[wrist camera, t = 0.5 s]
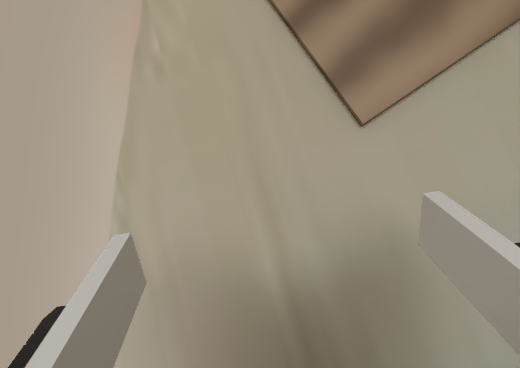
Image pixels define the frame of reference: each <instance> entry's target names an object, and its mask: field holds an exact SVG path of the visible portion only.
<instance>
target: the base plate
mask: <svg viewBox="0 0 520 368" xmlns="http://www.w3.org/2000/svg"><path fill="white" fill-rule="evenodd" d="M269 1H270V2H271V4H272V5H273V6H274V8H275V9H276V10H277V12H278V13H279V15H280V16H281V17H282V19H283V20H284V21H285V23H286V24H287V25H288V27H289V28H290V30H291V31H292V32H293V34H294V35H295V36H296V38H297V39H298V40H299V42H300V43H301V45H302V46H303V47H304V49H305V50H306V51H307V53H308V54H309V55H310V57H311V58H312V60H313V61H314V62H315V64H316V65H317V66H318V68H319V69H320V70H321V72H322V73H323V75H324V76H325V77H326V79H327V80H328V81H329V83H330V84H331V85H332V87H333V88H334V90H335V91H336V92H337V94H338V95H339V96H340V98H341V99H342V100H343V102H344V103H345V105H346V106H347V107H348V109H349V110H350V111H351V113H352V114H353V115H354V117H355V118H356V120H357V121H358V122H359V124H360V125H361V126H363V125H364V124H366V123H367V122H369V121H370V120H372V119H373V118H375V117H376V116H378V115H379V114H381V113H382V112H384V111H385V110H387V109H388V108H390V107H391V106H393V105H394V104H396V103H397V102H398V101H400V100H401V99H403V98H404V97H406V96H407V95H409V94H410V93H412V92H413V91H415V90H416V89H418V88H419V87H421V86H422V85H424V84H425V83H427V82H428V81H429V80H431V79H432V78H434V77H435V76H437V75H438V74H440V73H441V72H443V71H444V70H446V69H447V68H449V67H450V66H452V65H453V64H455V63H456V62H458V61H459V60H461V59H462V58H463V57H465V56H466V55H468V54H469V53H471V52H472V51H474V50H475V49H477V48H478V47H480V46H481V45H483V44H484V43H486V42H487V41H489V40H490V39H492V38H493V37H495V36H496V35H497V34H499V33H500V32H502V31H503V30H505V29H506V28H508V27H509V26H511V25H512V24H514V23H515V22H517V21H518V20H520V0H269Z"/></svg>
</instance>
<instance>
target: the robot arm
mask: <svg viewBox="0 0 520 368" xmlns="http://www.w3.org/2000/svg"><path fill="white" fill-rule="evenodd" d="M419 246H420V247H421V249H422V250H423V251H424V252H425V253H426V254H427V255H428V256H429V257H430V258H431V259H432V261H433V262H434V263H435V264H436V265H437V266H438V267H439V268H440V269H441V270H442V271H443V273H444V274H445V275H446V276H447V277H448V278H449V279H450V280H451V281H452V282H453V284H454V285H455V286H456V287H457V288H458V289H459V290H460V291H461V292H462V293H463V294H464V296H465V297H466V298H467V299H468V300H469V301H470V302H471V303H472V304H473V305H474V306H475V308H476V309H477V310H478V311H479V312H480V313H481V314H482V315H483V316H484V317H485V318H486V320H487V321H488V322H489V323H490V324H491V325H492V326H493V327H494V328H495V329H496V331H497V332H498V333H499V334H500V335H501V336H502V337H503V338H504V339H505V340H506V341H507V343H508V344H509V345H510V346H511V347H512V348H513V349H514V350H515V351H516V352H517V353H518V355H519V356H520V243H512V242H511V241H509V240H508V239H507V238H505V237H504V236H502V235H501V234H500V233H498V232H497V231H495V230H494V229H492V228H491V227H490V226H488V225H487V224H485V223H484V222H483V221H481V220H480V219H478V218H477V217H476V216H474V215H473V214H471V213H470V212H469V211H467V210H466V209H464V208H463V207H461V206H460V205H459V204H457V203H456V202H454V201H453V200H452V199H450V198H449V197H447V196H446V195H445V194H443V193H442V192H440V191H437V192H429V193H423V197H422V209H421V221H420V233H419ZM145 285H146V279H145V276H144V273H143V270H142V267H141V263H140V260H139V257H138V254H137V251H136V248H135V245H134V241H133V238H132V235H131V233H126V234H118V235H113V237H112V238H111V240H110V241H109V243H108V244H107V246H106V247H105V249H104V250H103V252H102V253H101V255H100V256H99V258H98V259H97V261H96V262H95V264H94V265H93V267H92V268H91V270H90V271H89V272H88V274H87V275H86V277H85V278H84V280H83V281H82V283H81V284H80V286H79V288H78V289H77V290H76V292H75V293H74V295H73V296H72V298H71V299H70V301H69V302H68V304H67V305H66V306H60V307H56V308H55V309H54V310H53V311H52V312H51V313H50V314H48V315H47V316H46V317H45V318H44V319H43V320H42V321H41V323H40V324H39V325H38V327H37V328H36V330H35V331H34V334H32V335H31V337H30V338H29V339H28V341H27V342H26V345H24V346H23V348H22V349H21V351H20V352H19V353H18V355H17V356H16V357H15V359H14V360H13V361H12V363H11V364H10V366H9V367H8V368H113V366H114V364H115V361H116V359H117V356H118V354H119V351H120V348H121V346H122V343H123V341H124V338H125V336H126V333H127V331H128V328H129V326H130V323H131V321H132V318H133V315H134V313H135V310H136V308H137V305H138V303H139V300H140V298H141V295H142V293H143V290H144V288H145Z"/></svg>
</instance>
